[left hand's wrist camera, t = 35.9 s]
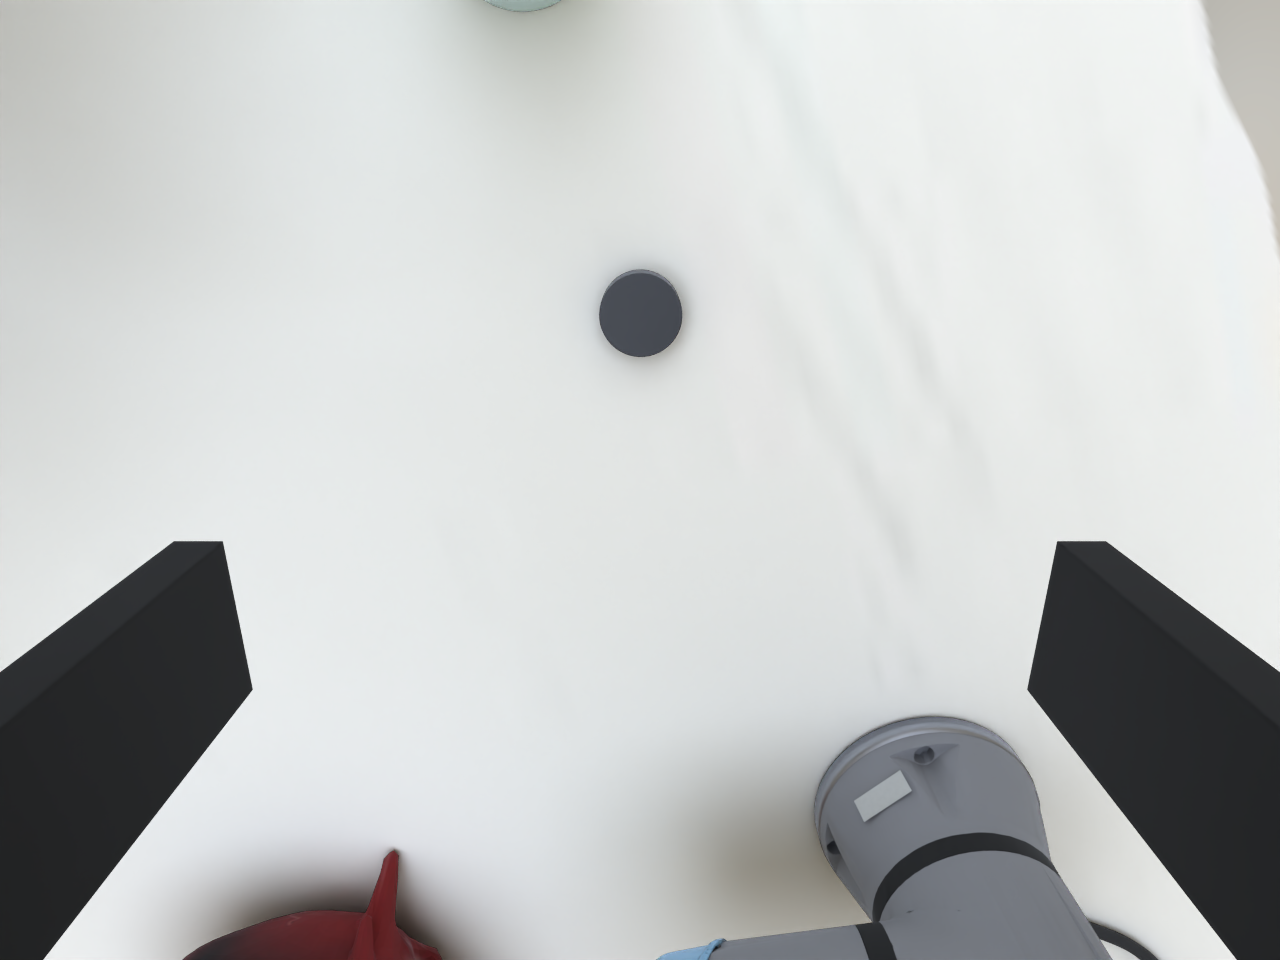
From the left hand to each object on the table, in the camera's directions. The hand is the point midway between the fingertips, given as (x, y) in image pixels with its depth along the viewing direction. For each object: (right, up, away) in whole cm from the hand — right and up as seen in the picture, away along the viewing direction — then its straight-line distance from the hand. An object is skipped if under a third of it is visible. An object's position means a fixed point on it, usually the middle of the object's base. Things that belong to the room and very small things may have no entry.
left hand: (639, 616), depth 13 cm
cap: (0, +11, +30) cm, 32 cm away
